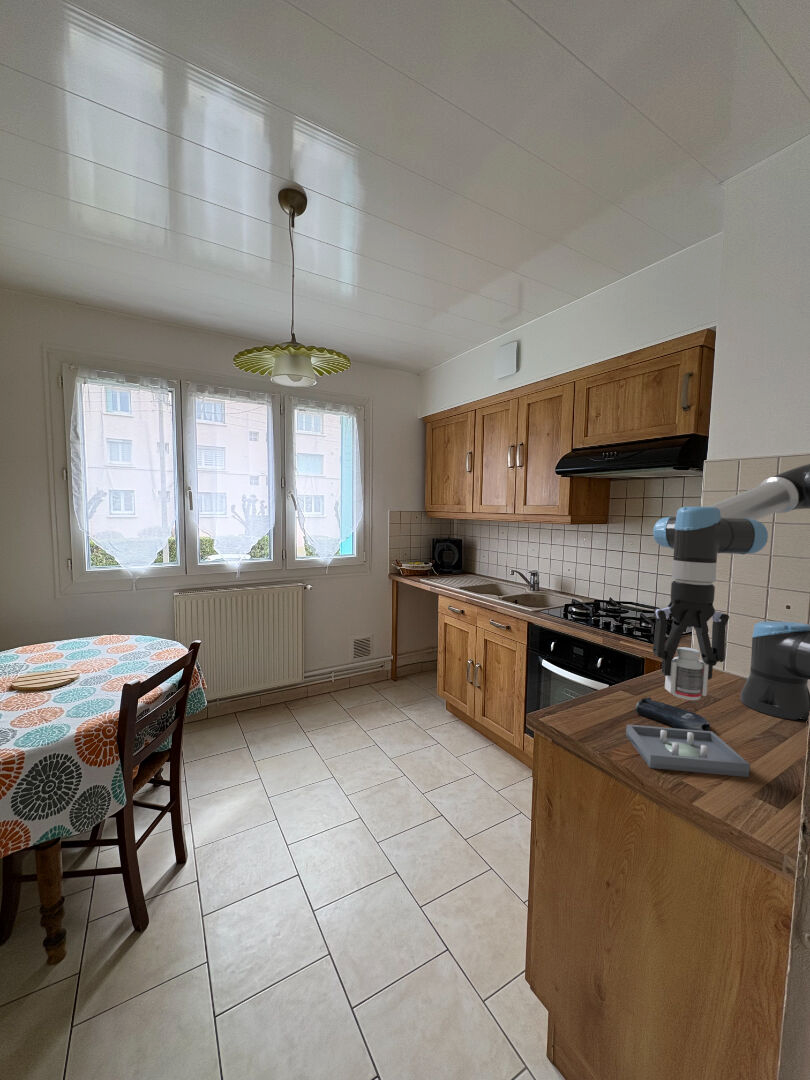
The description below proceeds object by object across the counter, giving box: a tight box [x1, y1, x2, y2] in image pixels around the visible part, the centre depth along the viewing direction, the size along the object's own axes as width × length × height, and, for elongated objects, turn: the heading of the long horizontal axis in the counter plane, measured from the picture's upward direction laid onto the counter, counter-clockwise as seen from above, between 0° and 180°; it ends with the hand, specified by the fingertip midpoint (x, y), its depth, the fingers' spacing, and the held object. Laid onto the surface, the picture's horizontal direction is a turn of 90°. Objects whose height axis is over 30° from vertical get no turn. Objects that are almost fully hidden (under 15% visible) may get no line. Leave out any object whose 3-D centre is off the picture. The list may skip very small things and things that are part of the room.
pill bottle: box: [671, 646, 703, 701], centre depth 91 cm, size 5×5×10 cm
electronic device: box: [634, 696, 711, 731], centre depth 108 cm, size 9×6×15 cm
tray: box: [625, 724, 751, 778], centre depth 92 cm, size 18×13×4 cm
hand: (685, 691), depth 92 cm, fingers closed on pill bottle, 5 cm apart
